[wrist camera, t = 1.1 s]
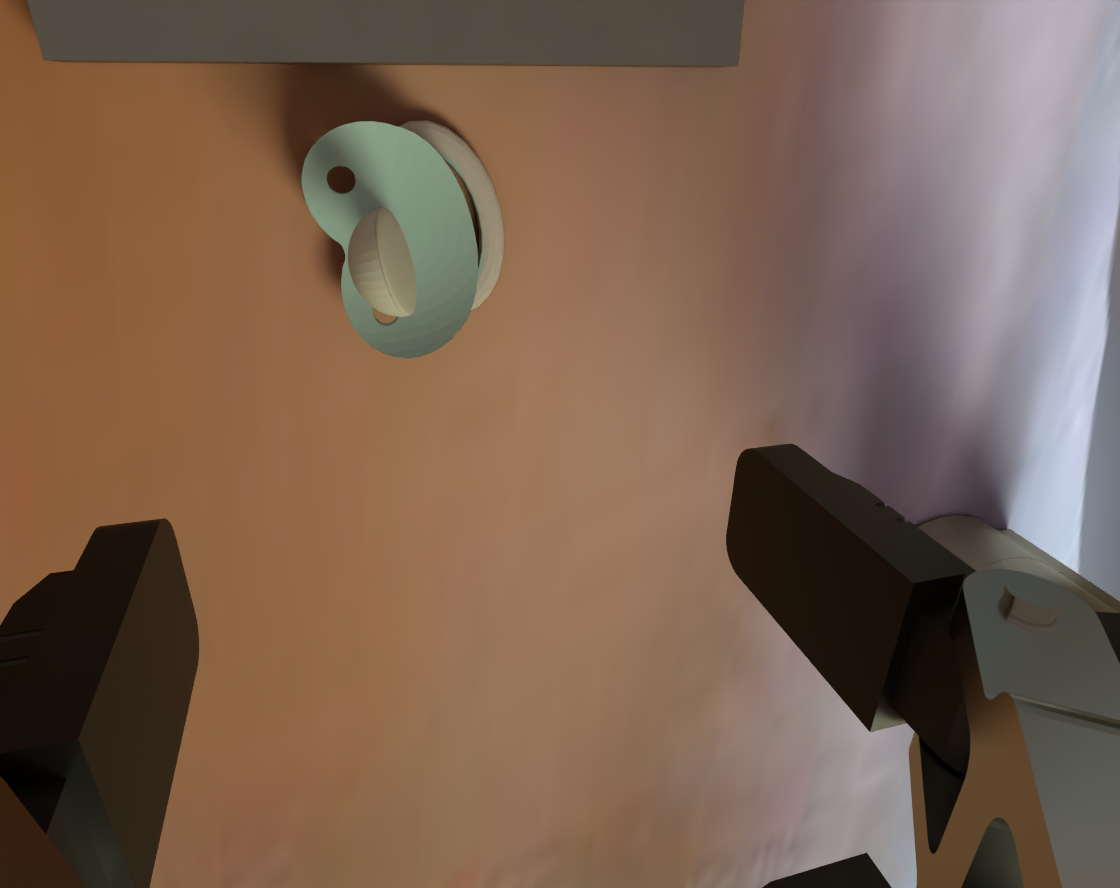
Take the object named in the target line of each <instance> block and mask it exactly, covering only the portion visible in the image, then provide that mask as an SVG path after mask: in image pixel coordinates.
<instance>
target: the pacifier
mask: <svg viewBox="0 0 1120 888" xmlns="http://www.w3.org/2000/svg"><path fill="white" fill-rule="evenodd" d="M444 160H445V161H446V162H448V163H449V164H450V165H451V166H452V167H453V169H454V170H455V171H456V172H457V174H458V175H459V176H460V177H461V179H462V181H463V183H464V184H465V186H466V188H467V190H468V192H469V194H470V196H471V199H472V202H473V205H474V208H475V211H476V216H477V221H478V227H479V251H477V243H476V237H475V232H474V227H473V222H472V219H471V215H470V212H469V209H468V206H467V203H466V200H465V197H464V194H463V192H462V190H461V188H460V186H459V184H458V182H457V180H456V178H455V176H454V174H453V172H452V171H451V169H450V168H449V166H448V165H447V164H446V162H445V161H444ZM336 166H344V167H347V168H349V169H350V170H351V171H352V172H353V173H354V175H355V179H356V182H355V186H354V187H353V189H352V190H351V191H349V192H347V193H338V192H336V191H334V190H333V189H332V188H331V187H330V186H329V184H328V182H327V174H328V172H329V171H330V170H331V169H332V168H334V167H336ZM301 179H302V189H303V193H304V197H305V201H306V203H307V205H308V208H309V210H310V212H311V214H312V216H313V217H314V218H315V220H316V221H317V223H318V224H319V225H320V227H321V228H322V229H323V230H324V231H325V232H326V233H327V234H328V235H329V236H330V237H331V238H333V239H334V240H335V241H337V242H338V243H340V244H341V246H342V247H343V249H344V252H345V262H344V265H343V269H342V278H341V289H342V299H343V303H344V307H345V310H346V313H347V315H348V317H349V319H350V321H351V324H352V325H353V327H354V328H355V330H356V331H357V332H358V334H359V335H360V336H361V337H362V338H363V339H364V340H365V341H366V342H367V343H368V344H370V345H371V346H372V347H374V348H375V349H377V350H379V351H381V352H382V353H385V354H388V355H391V356H394V357H402V358H412V357H420V356H423V355H426V354H429V353H432V352H433V351H435V350H437V349H439V348H441V347H442V346H443V345H444V344H446V343H447V342H448V341H449V340H451V339H452V338H453V336H454V335H455V334H456V333H457V332H458V331H459V330H460V329H461V327H462V326H463V324H464V323H465V321H466V320H467V318H468V316H469V313H470V311H471V310H472V309H474V308H476V307H478V306H479V305H480V304H481V303H482V302H483V301H484V300H485V299H486V298H487V297H488V296H489V295H490V293H491V291H492V289H493V287H494V285H495V283H496V281H497V279H498V277H499V273H500V269H501V264H502V260H503V251H504V229H503V223H502V216H501V210H500V205H499V202H498V199H497V196H496V193H495V190H494V187H493V184H492V182H491V180H490V178H489V176H488V174H487V172H486V170H485V168H484V167H483V165H482V163H481V161H480V159H479V158H478V157H477V156H476V154H475V153H474V152H473V151H472V149H471V148H470V147H469V146H468V145H467V143H466V142H465V141H464V140H463V139H461V138H460V137H459V136H458V135H456V134H455V133H454V132H452V131H451V130H450V129H448V128H447V127H445V126H442V125H439V124H437V123H434V122H431V121H428V120H424V121H409V122H407V123H405V124H403V125H401V126H399V127H397V126H394V125H391V124H387V123H382V122H375V121H357V122H353V123H348V124H343V125H341V126H339V127H336V128H334V129H332V130H330V131H329V132H327V133H326V134H324V135H323V136H322V137H320V138H319V139H318V141H317V142H316V143H315V144H314V145H313V146H312V147H311V149H310V151H309V153H308V154H307V156H306V158H305V161H304V165H303V170H302V178H301ZM373 308H375V309H376V310H378V311H380V312H382V313H384V314H387V315H391V316H397V318H396V319H395V320H394V321H393V322H391V323H382V322H380V321H378V320H377V319H376V318H375V316H374V314H373Z"/></svg>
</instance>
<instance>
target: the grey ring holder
mask: <svg viewBox="0 0 1120 888" xmlns="http://www.w3.org/2000/svg"><path fill="white" fill-rule="evenodd" d="M27 2H28V6H29V9H30V13H31V16H32V20H33V23H34V27H35V31H36V34H37V38H38V41H39V45H40V48H41V52H42V56H43V59H44V60H48V61H58V62H118V63H246V64H373V65H501V66H628V67H728V66H738V61H739V50H740V40H741V30H742V19H743V9H744V0H27Z"/></svg>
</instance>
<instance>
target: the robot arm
mask: <svg viewBox="0 0 1120 888" xmlns="http://www.w3.org/2000/svg"><path fill="white" fill-rule="evenodd" d="M726 545H727V552H728V556H729V560H730V563H731V565H732V567H733V569H734V571H735V573H736V574H737V575H738V577H739V578H740V579H741V580H742V581H743V583H744V584H745V585H746V586H747V587H748V589H749V590H750V591H751V592H752V593H753V594H754V596H755V597H756V598H757V599H758V600H759V602H760V603H761V604H762V605H763V606H764V607H765V609H766V610H767V611H768V612H769V613H770V615H771V616H772V617H773V618H774V619H775V620H776V622H777V623H778V624H779V625H780V626H781V628H782V629H783V630H784V631H785V632H786V633H787V635H788V636H789V637H790V638H791V639H792V641H793V642H794V643H795V644H796V645H797V646H798V648H799V649H800V650H801V651H802V652H803V653H804V655H805V656H806V657H807V658H808V659H809V661H810V662H811V663H812V664H813V665H814V666H815V668H816V669H817V670H818V671H819V672H820V674H821V675H822V676H823V677H824V678H825V679H826V681H827V682H828V683H829V684H830V685H831V687H832V688H833V689H834V690H835V691H836V692H837V694H838V695H839V696H840V697H841V698H842V700H843V701H844V702H845V703H846V704H847V705H848V707H849V708H850V709H851V710H852V711H853V713H854V714H855V715H856V716H857V717H858V718H859V720H860V721H861V722H862V723H863V724H864V726H865V727H866V728H867V729H868V730H869V731H870V732H873V731H877V730H881V729H885V728H889V727H893V726H897V725H901V724H905V723H907V724H908V725H909V726H910V727H911V728H912V729H913V730H914V731H915V732H914V735H913V738H912V741H911V744H910V747H909V765H910V779H911V793H912V808H913V822H914V836H915V851H916V865H917V888H1120V601H1118V600H1117V599H1115V598H1114V597H1112V596H1111V595H1109V594H1108V593H1106V592H1105V591H1103V590H1101V589H1100V588H1099V587H1097V586H1096V585H1094V584H1093V583H1091V582H1090V581H1088V580H1086V579H1085V578H1083V577H1082V576H1081V575H1079V574H1077V573H1076V572H1074V571H1073V570H1071V569H1070V568H1068V567H1067V566H1065V565H1064V564H1062V563H1061V562H1059V561H1058V560H1056V559H1055V558H1053V557H1052V556H1050V555H1049V554H1047V553H1046V552H1044V551H1043V550H1041V549H1040V548H1038V547H1037V546H1035V545H1034V544H1032V543H1031V542H1029V541H1028V540H1026V539H1025V538H1023V537H1021V536H1020V535H1018V534H1017V533H1015V532H1014V531H1012V530H1011V529H1005V530H996V529H994V528H993V527H991V526H990V525H988V524H987V523H985V522H984V521H982V520H980V519H977V518H974V517H971V516H961V515H954V516H948V517H941V518H938V519H935V520H932V521H929V522H926V523H924V524H922V525H920V526H918V527H916V526H915V525H914V524H912V523H911V522H905V520H904V517H903V516H902V515H900V514H899V513H898V512H896V511H895V510H894V509H892V508H891V507H889V506H887V507H885V506H884V502H883V501H881V500H880V499H879V498H877V497H876V496H875V495H873V494H872V493H871V492H869V491H868V490H867V489H865V488H864V487H863V486H861V485H860V484H858V483H855V482H853V481H851V480H849V479H846V478H844V477H842V476H839V475H837V474H835V473H832V472H831V471H830V470H828V469H827V468H826V467H824V466H823V465H822V464H820V463H819V462H818V461H816V460H815V459H814V458H812V457H811V456H810V455H808V454H807V453H806V452H805V451H803V450H802V449H801V448H799V447H798V446H796V445H794V444H783V445H775V446H767V447H758V448H750V449H746V450H744V451H743V452H742V453H741V454H740V456H739V458H738V461H737V465H736V472H735V479H734V485H733V492H732V499H731V506H730V513H729V520H728V527H727V534H726ZM198 659H199V635H198V625H197V619H196V615H195V611H194V607H193V603H192V599H191V595H190V591H189V587H188V583H187V579H186V576H185V572H184V568H183V564H182V560H181V556H180V552H179V548H178V544H177V540H176V537H175V533H174V530H173V528H172V526H171V524H170V522H169V521H168V520H167V519H157V520H149V521H140V522H132V523H124V524H116V525H108V526H100V527H98V528H96V529H95V531H94V532H93V534H92V536H91V538H90V540H89V542H88V544H87V546H86V548H85V549H84V551H83V553H82V555H81V557H80V559H79V561H78V563H77V565H76V567H75V569H74V570H72V571H65V572H57V573H50V574H49V575H48V576H47V577H45V578H44V579H43V580H42V581H40V582H39V583H38V584H37V585H36V586H34V587H33V588H32V589H31V590H29V591H28V592H27V593H26V594H25V595H23V596H22V597H21V598H20V599H18V600H17V601H16V602H15V603H14V604H13V605H12V607H11V609H10V610H9V612H8V614H7V615H6V617H5V619H4V620H3V622H2V624H1V625H0V888H149V887H150V882H151V877H152V873H153V868H154V864H155V859H156V854H157V850H158V845H159V841H160V836H161V832H162V827H163V822H164V818H165V813H166V809H167V804H168V799H169V795H170V790H171V786H172V781H173V777H174V772H175V767H176V763H177V758H178V754H179V749H180V745H181V740H182V735H183V731H184V726H185V722H186V717H187V712H188V708H189V703H190V699H191V694H192V690H193V685H194V680H195V676H196V671H197V666H198ZM763 888H891V886H890V885H889V883H888V882H887V881H886V879H885V878H884V876H883V875H882V874H881V872H880V871H879V869H878V868H877V867H876V865H875V864H874V862H873V861H872V860H871V858H870V857H869V855H868V854H867V853H864V854H861V855H858V856H854V857H851V858H848V859H844V860H841V861H838V862H835V863H831V864H828V865H825V866H821V867H818V868H815V869H811V870H808V871H805V872H802V873H798V874H795V875H792V876H788V877H785V878H782V879H778V880H775V881H772V882H770V883H768V884H767V885H765V886H764V887H763Z"/></svg>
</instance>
